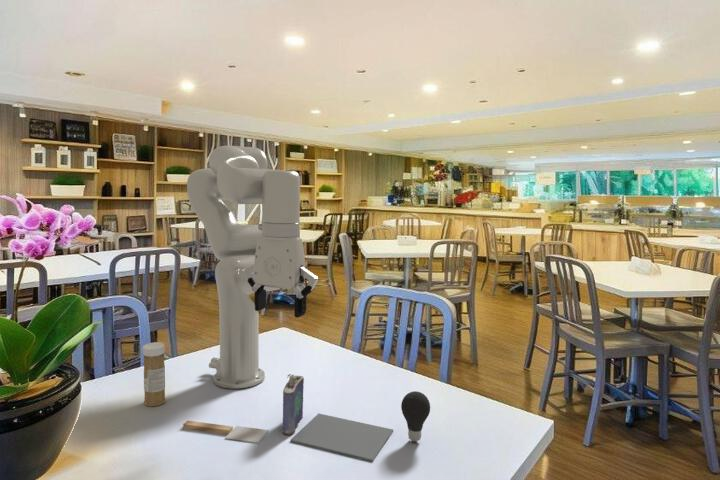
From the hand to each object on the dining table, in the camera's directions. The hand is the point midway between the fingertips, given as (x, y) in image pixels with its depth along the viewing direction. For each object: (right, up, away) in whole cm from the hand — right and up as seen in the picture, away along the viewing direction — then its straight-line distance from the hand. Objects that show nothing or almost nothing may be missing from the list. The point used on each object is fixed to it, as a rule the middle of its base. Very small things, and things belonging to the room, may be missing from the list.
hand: (279, 312), depth 101 cm
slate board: (+13, -24, -5) cm, 28 cm away
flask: (+3, -23, -1) cm, 24 cm away
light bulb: (+27, -25, -6) cm, 37 cm away
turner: (-10, -23, -4) cm, 26 cm away
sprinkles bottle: (-29, -22, +8) cm, 37 cm away
